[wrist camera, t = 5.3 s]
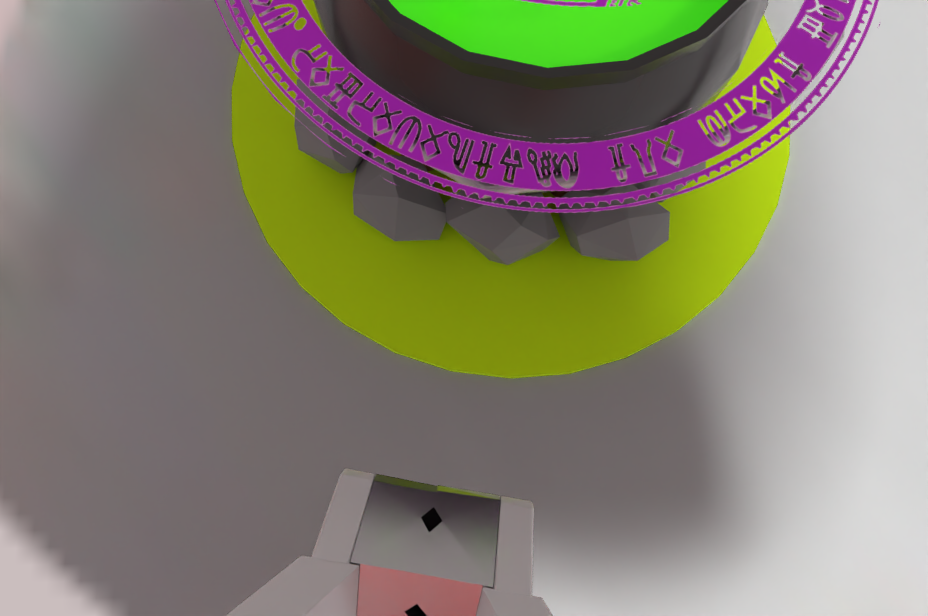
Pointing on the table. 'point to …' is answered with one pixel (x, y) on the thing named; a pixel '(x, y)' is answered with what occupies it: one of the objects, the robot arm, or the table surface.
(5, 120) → the table surface
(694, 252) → the toy cauldron
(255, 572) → the table surface
